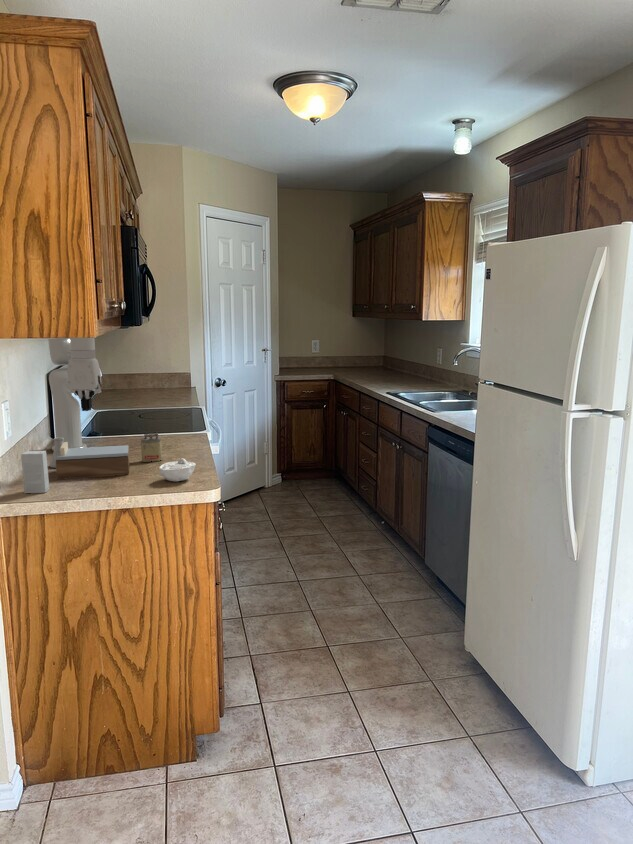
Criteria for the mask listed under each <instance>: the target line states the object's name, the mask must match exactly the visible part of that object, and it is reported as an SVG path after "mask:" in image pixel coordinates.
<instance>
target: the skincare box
mask: <svg viewBox="0 0 633 844" xmlns="http://www.w3.org/2000/svg"><path fill="white" fill-rule="evenodd" d="M20 459H21V467H22V479H23V489H24V490H23V491H24V492H23V493H24V494H25V493H31V494H44V493H47V492H48V491H49V490H50V481H49V470H48V458H47V450H30V451H27V450H26V451H24V452H23V453H21V454H20Z"/></svg>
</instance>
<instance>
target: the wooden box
mask: <svg viewBox="0 0 633 844" xmlns="http://www.w3.org/2000/svg"><path fill="white" fill-rule="evenodd" d="M129 465H130V451H129V450H128V456H119V457H101V458H84V459H67V460H56V468H55V469H56V480H66V479H65V478H71V479H81V478H84V477H86V478H98V477H101V478H102V477H113V476H115V475H117V476H126V475H125V474H129V475H130V466H129Z"/></svg>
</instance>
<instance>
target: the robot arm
mask: <svg viewBox="0 0 633 844" xmlns="http://www.w3.org/2000/svg"><path fill="white" fill-rule="evenodd" d="M47 340H48V349H49V355H50V361H51V363H52V364H54V365H56V366H67V367H66V368H65V367H63V368H56V369H53V370H52V371H50V372H49V375H48V382H49V386H50V391H51V397H52V405H53V418H54V433H55V438H57V437H63V438H64V440H63V443H64V442H68V448H86V447H88V446H87V444H86V443H83V438H82V437H83V436H82V435H83V434H82V421H81V420H82V419H81V411H82V412H88V411H91V410H92V408H93V403H92V401H93V400H92V399H93V398H94V396H95V395H96V394H100V393H102V376H101V375H102V373H101V368H100V364H99V360H98V359H97V357H96V339H95V337H94V338H56V339H48V338H47ZM73 394H74V395H77V397H78V398H79V400H80V402H79V401H78V399H76V397H75V396H74V395H73ZM54 448H55V445H53V446H52V447H51V449H52V450H51V451H52V452H54Z"/></svg>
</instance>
